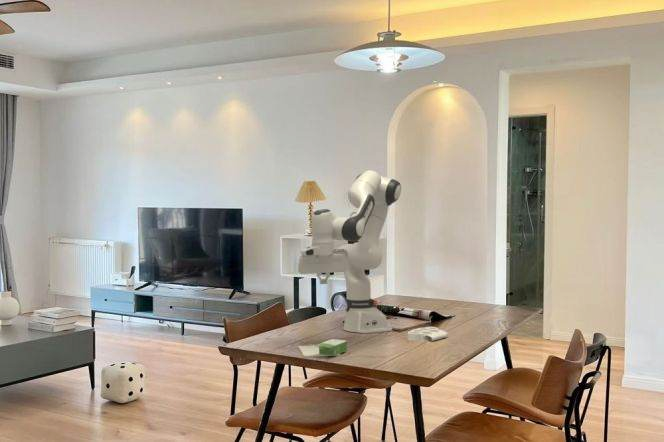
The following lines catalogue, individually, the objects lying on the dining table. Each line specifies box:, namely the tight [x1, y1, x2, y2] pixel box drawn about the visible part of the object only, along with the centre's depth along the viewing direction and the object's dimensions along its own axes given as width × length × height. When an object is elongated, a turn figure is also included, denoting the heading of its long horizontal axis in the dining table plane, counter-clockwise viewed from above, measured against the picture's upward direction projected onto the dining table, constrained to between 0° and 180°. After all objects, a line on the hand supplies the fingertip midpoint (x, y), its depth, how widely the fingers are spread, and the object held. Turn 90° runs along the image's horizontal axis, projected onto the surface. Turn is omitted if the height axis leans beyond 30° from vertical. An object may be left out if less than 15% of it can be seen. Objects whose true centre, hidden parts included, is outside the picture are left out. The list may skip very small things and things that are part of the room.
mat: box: [297, 344, 341, 358], centre depth 258 cm, size 14×16×1 cm
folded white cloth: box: [407, 326, 449, 343], centre depth 284 cm, size 3×18×15 cm
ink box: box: [315, 338, 348, 355], centre depth 253 cm, size 7×4×13 cm
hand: (323, 283), depth 265 cm, fingers closed
